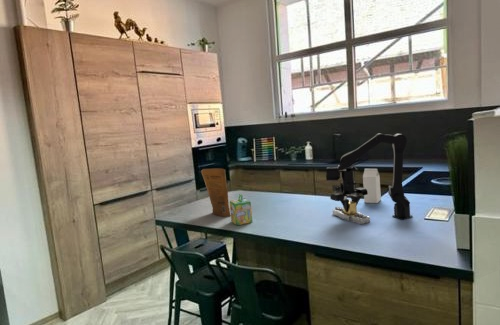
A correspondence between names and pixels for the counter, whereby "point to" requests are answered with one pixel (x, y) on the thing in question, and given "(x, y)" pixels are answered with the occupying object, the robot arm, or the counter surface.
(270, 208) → the counter surface
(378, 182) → the milk carton
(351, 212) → the studded golden block
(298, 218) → the counter surface
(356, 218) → the chrome-studded grey beam
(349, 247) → the counter surface
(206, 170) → the pancake mix bag
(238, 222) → the chalk box
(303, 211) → the counter surface
